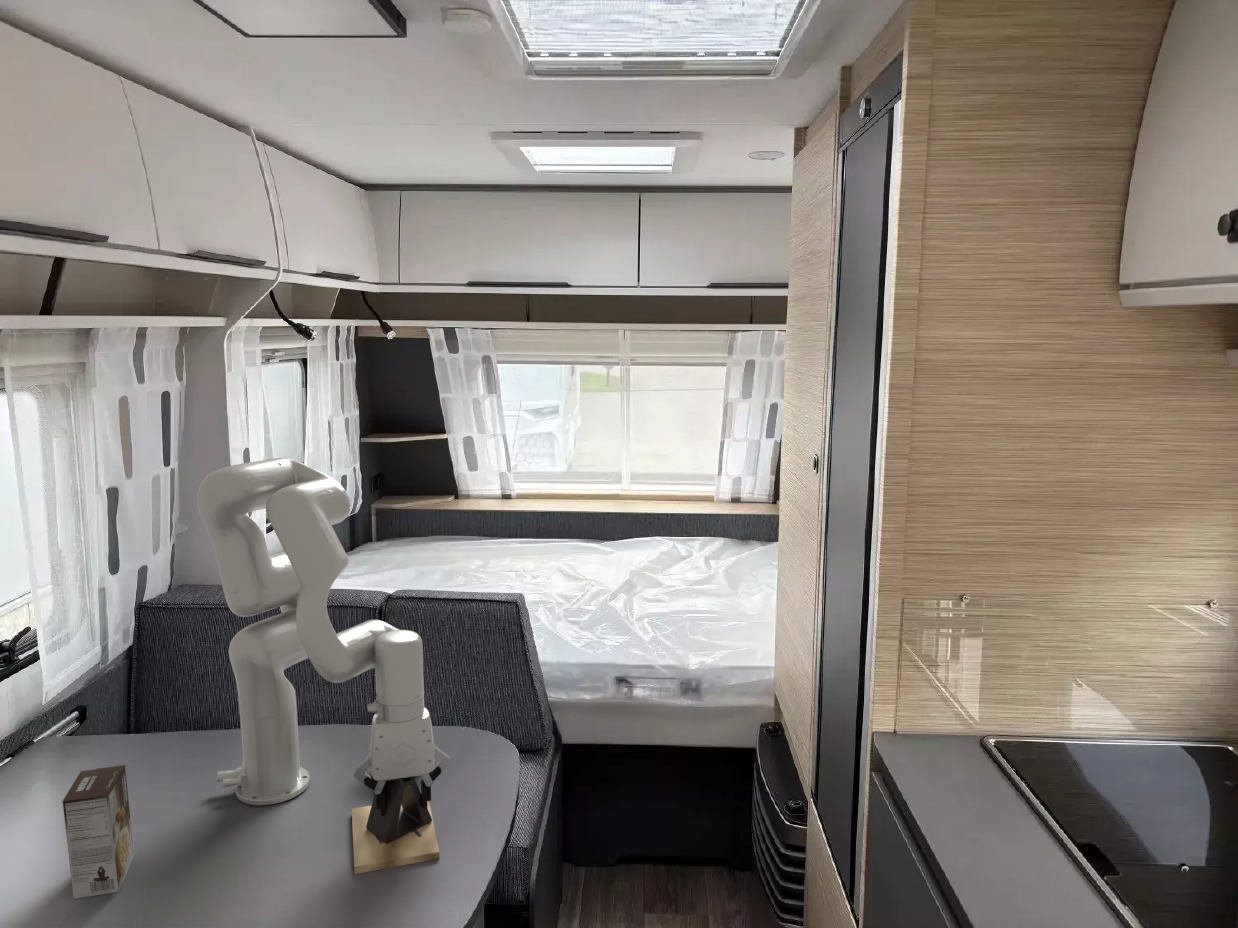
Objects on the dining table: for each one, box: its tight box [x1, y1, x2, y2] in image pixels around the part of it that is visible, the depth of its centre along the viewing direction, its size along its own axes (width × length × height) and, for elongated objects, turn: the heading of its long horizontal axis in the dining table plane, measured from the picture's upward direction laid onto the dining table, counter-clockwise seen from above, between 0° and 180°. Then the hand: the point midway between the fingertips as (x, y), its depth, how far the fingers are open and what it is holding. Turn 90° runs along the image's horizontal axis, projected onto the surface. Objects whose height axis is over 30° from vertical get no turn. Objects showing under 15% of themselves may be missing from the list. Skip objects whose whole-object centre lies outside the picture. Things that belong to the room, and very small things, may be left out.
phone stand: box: [366, 776, 433, 844], centre depth 145 cm, size 9×6×12 cm, turn 136°
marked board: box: [351, 801, 441, 875], centre depth 145 cm, size 13×17×1 cm
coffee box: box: [62, 764, 135, 900], centre depth 132 cm, size 9×6×16 cm
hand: (403, 807), depth 145 cm, fingers open, 6 cm apart
